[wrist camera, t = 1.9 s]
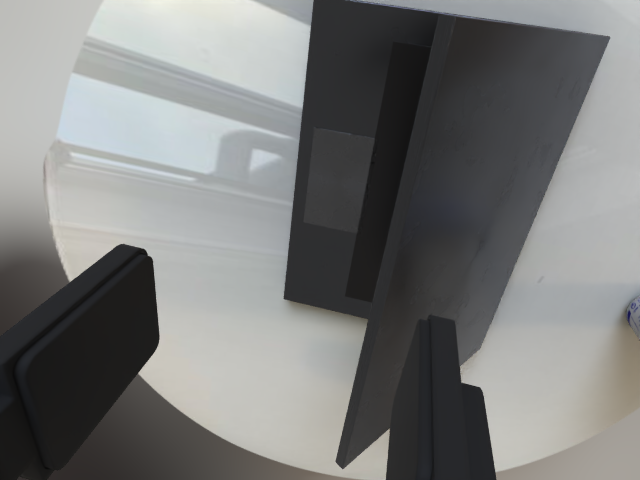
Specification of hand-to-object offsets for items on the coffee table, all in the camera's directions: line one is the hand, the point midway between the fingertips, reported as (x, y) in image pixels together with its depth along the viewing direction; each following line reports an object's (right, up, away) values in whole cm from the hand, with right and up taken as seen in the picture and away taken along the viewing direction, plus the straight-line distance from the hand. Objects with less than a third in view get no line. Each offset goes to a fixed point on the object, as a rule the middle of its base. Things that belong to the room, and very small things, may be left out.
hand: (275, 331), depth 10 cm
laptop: (+9, +7, +31) cm, 33 cm away
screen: (+12, +1, +21) cm, 24 cm away
